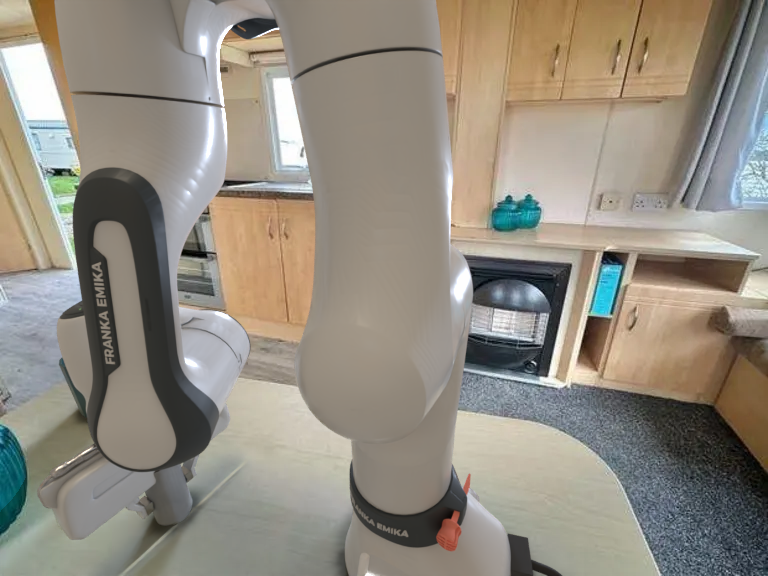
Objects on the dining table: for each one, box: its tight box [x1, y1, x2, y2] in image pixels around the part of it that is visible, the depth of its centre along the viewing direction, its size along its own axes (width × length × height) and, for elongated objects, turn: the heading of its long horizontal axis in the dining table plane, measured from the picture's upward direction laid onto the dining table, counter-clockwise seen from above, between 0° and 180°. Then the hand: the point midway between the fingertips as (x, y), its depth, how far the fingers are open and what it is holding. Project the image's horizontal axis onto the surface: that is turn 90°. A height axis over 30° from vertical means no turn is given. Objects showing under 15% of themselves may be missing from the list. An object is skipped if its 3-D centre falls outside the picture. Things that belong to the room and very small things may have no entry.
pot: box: [58, 357, 87, 419], centre depth 68 cm, size 9×9×12 cm
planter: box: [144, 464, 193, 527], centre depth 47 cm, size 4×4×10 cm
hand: (169, 493), depth 48 cm, fingers closed on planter, 4 cm apart
